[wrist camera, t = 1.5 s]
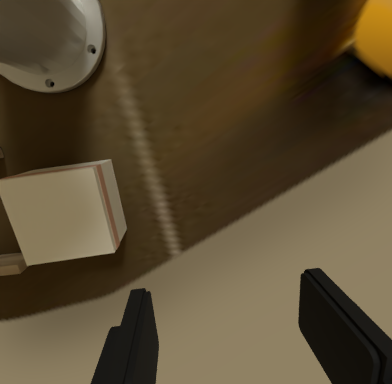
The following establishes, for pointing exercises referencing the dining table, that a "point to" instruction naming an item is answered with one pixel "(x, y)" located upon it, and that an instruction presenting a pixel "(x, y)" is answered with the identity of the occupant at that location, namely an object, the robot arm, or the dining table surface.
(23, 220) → the carton
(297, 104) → the dining table surface
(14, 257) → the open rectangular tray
